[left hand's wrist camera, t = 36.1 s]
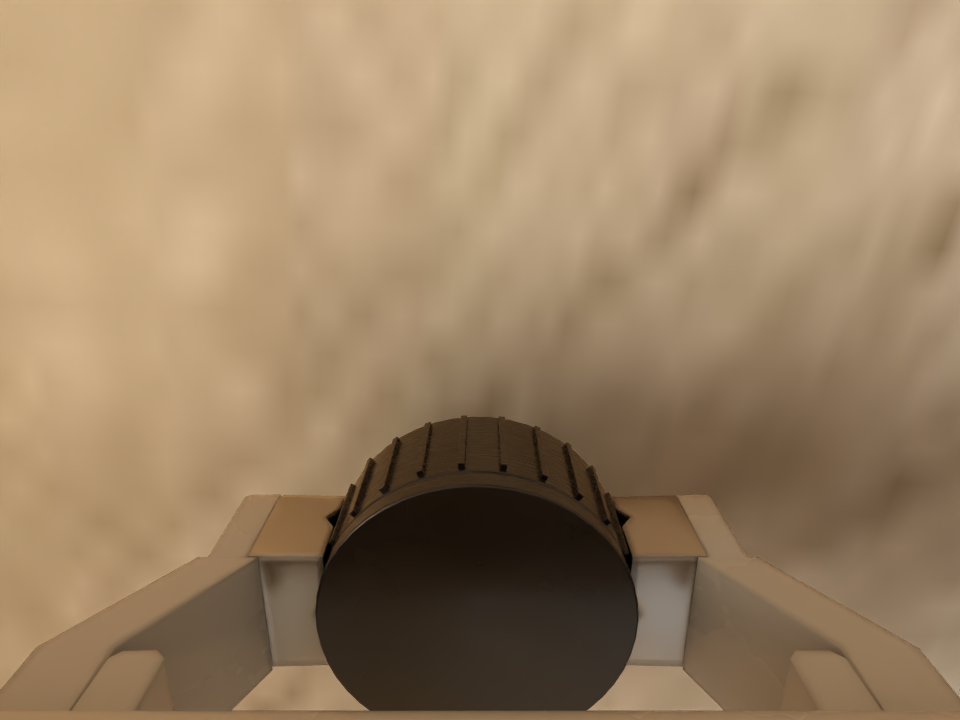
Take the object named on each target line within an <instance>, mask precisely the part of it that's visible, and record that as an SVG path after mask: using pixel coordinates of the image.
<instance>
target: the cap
mask: <svg viewBox="0 0 960 720" xmlns="http://www.w3.org/2000/svg"><path fill="white" fill-rule="evenodd" d="M329 544H331V545H332V548H331V551H330V553H329V556H328V559H327V562H326V565H325V568H324V570H323V573H322V576H321V579H320V583H319V587H318V591H317V596H316V607H315V616H316V629H317V633H318V637H319V641H320V645H321V648H322V651H323V653H324V655H325V658H326V660H327V662H328V664H329V666H330V668H331V669H332V671H333V673H334V674H335V676H336V677H337V679H338V680H339V681H340V682H341V684H342V685H343V686H344V687H345V689H346V690H347V691H348V692H349V693H350V694H351V695H352V696H353V697H354V698H355V699H356V700H357V701H358V702H359V703H361V704H362V705H363V706H364V707H366V708H367V709H368V710H370V711H586V710H588V709H589V708H590V707H592V706H593V705H594V704H595V703H596V702H597V701H599V700H600V699H601V698H602V697H603V696H604V695H605V694H606V693H607V691H608V690H609V689H610V688H611V687H612V686H613V685H614V683H615V682H616V680H617V679H618V678H619V676H620V675H621V673H622V672H623V670H624V668H625V666H626V664H627V662H628V660H629V658H630V656H631V653H632V650H633V646H634V643H635V640H636V636H637V628H638V621H639V615H638V599H637V594H636V589H635V585H634V582H633V578H632V575H631V572H630V569H629V566H628V562H627V559H626V556H625V555H627V554H629V551H628V548H627V544H626V541H625V538H624V535H623V532H622V529H621V526H620V523H619V520H618V517H617V514H616V510H615V507H614V504H613V501H612V498H611V495H610V493H606V494H605V491H604V489H603V487H602V486H601V484H600V482H599V480H598V477H597V474H596V470H595V468H594V467H593V466H590V467H589V466H588V465H587V463H586V462H585V461H584V460H583V459H582V458H581V457H580V456H579V455H578V454H577V453H576V452H574V451H573V450H572V447H571V445H570V444H569V443H566V444H564V443H563V442H561V441H560V440H558V439H556V438H554V437H553V436H551V435H549V434H547V433H546V432H543V431H541V430H540V427H537V426H535V427H531V426H529V425H526V424H522V423H518V422H515V421H511V420H505V417H499V418H492V417H467V415H466V416H461V418H455V419H450V420H445V421H440V422H436V423H433V424H431V422H429V423H426V424H425V426H424V427H421V428H419V429H416V430H414V431H412V432H410V433H408V434H406V435H404V436H402V437H401V438H398V437H396V438H394V439H393V441H392V444H390V445H389V446H387V447H386V448H385V449H384V450H383V451H382V452H380V453H379V454H378V455H377V456H376V457H375V458H374V459H372V458H370V459H369V460H368V461H367V463H366V466H365V469H364V471H363V472H362V474H361V476H360V477H359V479H358V480H357V482H356V483H355V485H353V484H351V485H350V487H349V489H348V492H347V495H346V498H345V500H344V503H343V506H342V509H341V511H340V514H339V517H338V520H337V522H336V525H335V528H334V531H333V533H332V536H331V539H330V542H329Z"/></svg>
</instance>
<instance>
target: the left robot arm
mask: <svg viewBox="0 0 960 720" xmlns="http://www.w3.org/2000/svg"><path fill="white" fill-rule="evenodd" d="M345 498H346V496H305V495H283V496H281V495H250V496H247V497H245V498H244V500H243V501H242V503H241V505H240V506H239V508H238V509H237V511H236V513H235V514H234V516H233V518H232V519H231V521H230V522H229V524H228V526H227V527H226V529H225V531H224V532H223V534H222V535H221V537H220V539H219V540H218V542H217V543H216V545H215V547H214V548H213V550H212V552H211V553H210V555H209V556H208V557H198V558H196V559H194V560H192V561H190V562H189V563H187V564H185V565H183V566H182V567H180V568H178V569H176V570H174V571H173V572H171V573H169V574H167V575H165V576H164V577H162V578H160V579H158V580H156V581H155V582H153V583H151V584H149V585H147V586H146V587H144V588H142V589H140V590H139V591H137V592H135V593H133V594H131V595H130V596H128V597H126V598H124V599H122V600H121V601H119V602H117V603H115V604H113V605H112V606H110V607H108V608H106V609H104V610H103V611H101V612H99V613H97V614H95V615H94V616H92V617H90V618H88V619H87V620H85V621H83V622H81V623H79V624H78V625H76V626H74V627H72V628H70V629H69V630H67V631H65V632H63V633H61V634H60V635H58V636H56V637H54V638H52V639H51V640H49V641H47V642H45V643H44V644H42V645H40V646H38V647H36V648H35V649H34V651H33V652H32V653H31V654H30V655H29V657H28V658H27V659H26V660H25V661H24V663H23V664H22V665H21V666H20V667H19V669H18V670H17V671H16V672H15V673H14V675H13V676H12V677H11V678H10V679H9V681H8V682H7V683H6V684H5V685H4V687H3V688H2V689H1V690H0V720H960V698H959V697H958V695H957V694H956V693H955V692H954V691H953V689H952V688H951V687H950V686H949V684H948V683H947V682H946V681H945V680H944V678H943V677H942V676H941V675H940V673H939V672H938V671H937V670H936V668H935V667H934V666H933V665H932V664H931V662H930V661H929V660H928V659H927V657H926V656H925V655H924V654H923V653H922V651H921V650H920V649H919V648H917V647H915V646H914V645H912V644H910V643H908V642H907V641H905V640H903V639H901V638H899V637H898V636H896V635H894V634H892V633H891V632H889V631H887V630H885V629H883V628H882V627H880V626H878V625H876V624H875V623H873V622H871V621H869V620H868V619H866V618H864V617H862V616H860V615H859V614H857V613H855V612H853V611H852V610H850V609H848V608H846V607H844V606H843V605H841V604H839V603H837V602H836V601H834V600H832V599H830V598H829V597H827V596H825V595H823V594H821V593H820V592H818V591H816V590H814V589H813V588H811V587H809V586H807V585H805V584H804V583H802V582H800V581H798V580H797V579H795V578H793V577H791V576H789V575H788V574H786V573H784V572H782V571H781V570H779V569H777V568H775V567H774V566H772V565H770V564H768V563H766V562H765V561H763V560H761V559H759V558H758V557H747V556H746V554H745V553H744V551H743V550H742V548H741V546H740V545H739V543H738V541H737V540H736V538H735V537H734V535H733V533H732V532H731V530H730V528H729V527H728V525H727V524H726V522H725V520H724V519H723V517H722V515H721V514H720V512H719V510H718V509H717V507H716V506H715V504H714V502H713V501H712V499H711V497H709V496H707V495H705V494H701V495H676V496H637V497H611V498H612V501H613V504H614V507H615V510H616V514H617V517H618V520H619V523H620V526H621V529H622V532H623V535H624V538H625V541H626V544H627V548H628V551H629V554H627V555H625V556H626V559H627V562H628V566H629V569H630V572H631V575H632V578H633V582H634V585H635V589H636V594H637V599H638V615H639V621H638V628H637V636H636V640H635V643H634V646H633V650H632V653H631V656H630V658H629V660H628V662H627V664H626V665H648V666H683V670H684V671H685V672H686V673H687V674H688V675H689V676H690V677H691V678H692V679H693V680H694V681H695V682H696V683H697V684H698V685H699V686H700V687H701V688H702V689H703V690H704V691H705V692H706V693H707V694H708V695H709V696H710V697H711V698H712V699H713V700H714V701H715V702H716V703H717V704H718V705H719V706H720V707H721V708H722V709H723V710H725V711H231V710H232V709H233V708H234V707H235V706H236V705H237V704H238V703H239V702H240V701H241V700H242V699H243V698H244V697H245V696H246V695H247V694H248V693H249V692H250V691H251V690H252V689H253V688H254V687H256V686H257V685H258V684H259V683H260V682H261V681H262V680H263V679H264V678H265V677H266V676H267V675H268V674H269V673H270V672H271V671H272V666H306V665H329V664H328V662H327V660H326V658H325V655H324V653H323V651H322V648H321V645H320V641H319V637H318V633H317V629H316V616H315V607H316V596H317V591H318V587H319V583H320V579H321V576H322V573H323V570H324V568H325V565H326V562H327V559H328V556H329V553H330V551H331V548H332V545H331V544H329V542H330V539H331V536H332V533H333V531H334V528H335V525H336V522H337V520H338V517H339V514H340V511H341V509H342V506H343V503H344V500H345Z"/></svg>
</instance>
